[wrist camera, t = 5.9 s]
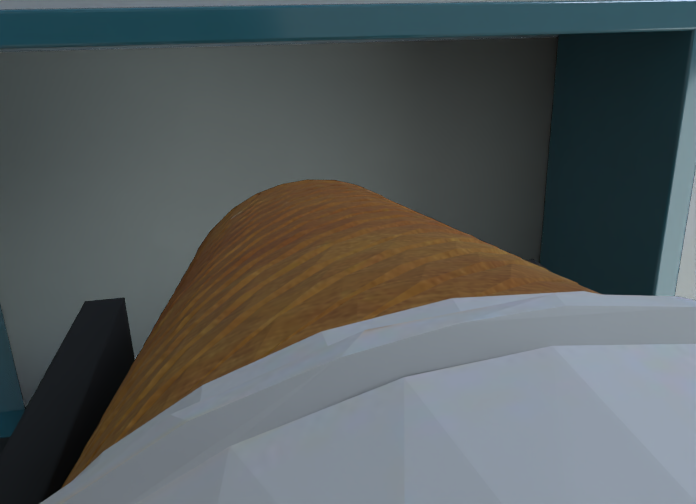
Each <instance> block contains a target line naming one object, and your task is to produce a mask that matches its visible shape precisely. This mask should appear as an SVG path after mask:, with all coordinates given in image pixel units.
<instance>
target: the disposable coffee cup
mask: <svg viewBox="0 0 696 504" xmlns="http://www.w3.org/2000/svg"><path fill="white" fill-rule="evenodd" d="M40 504H696V300H693V299H688V298H683V297H679V296H642V295H603V294H600V293H598V292H595V291H593V290H590V289H588V288H586V287H583V286H581V285H579V284H578V283H577V282H574V281H572V280H569V279H567V278H564V277H562V276H559V275H557V274H554V273H552V272H549V271H548V270H547V269H545V268H543V267H540V266H538V265H535V264H533V263H530V262H528V261H526V260H523V259H522V258H521V257H518V256H516V255H513V254H511V253H508V252H506V251H503V250H501V249H499V248H498V247H496V246H493V245H491V244H488V243H486V242H483V241H481V240H478V239H477V238H475V237H474V236H472V235H469V234H466V233H464V232H461V231H459V230H456V229H454V228H452V227H449V226H448V225H445V224H443V223H441V222H438V221H436V220H434V219H432V218H430V217H427V216H425V215H423V214H420V213H418V212H416V211H413V210H411V209H409V208H407V207H405V206H402V205H400V204H398V203H395V202H393V201H391V200H389V199H386V198H385V197H383V196H382V195H379V194H377V193H374V192H372V191H370V190H367V189H365V188H363V187H360V186H358V185H355V184H350V183H345V182H341V181H336V180H303V181H297V182H291V183H286V184H281V185H278V186H275V187H273V188H270V189H268V190H265V191H263V192H260V193H257V194H255V195H254V196H252V197H250V198H249V199H247V200H246V201H244V202H242V203H241V204H239V205H238V206H236V207H234V208H233V209H232V210H231V211H230V212H229V213H228V214H227V215H226V216H225V217H224V218H223V219H222V220H221V221H220V222H219V223H218V224H217V225H216V226H215V227H214V228H213V229H212V230H211V231H210V232H209V234H208V235H207V237H206V238H205V240H204V241H203V242H202V244H201V245H200V247H199V248H198V250H197V253H196V255H195V257H194V259H193V260H192V262H191V264H190V266H189V268H188V269H187V271H186V273H185V274H184V276H183V278H182V279H181V282H180V283H179V285H178V286H177V288H176V290H175V292H174V294H173V295H172V297H171V299H170V300H169V302H168V304H167V306H166V307H165V309H164V310H163V312H162V313H161V315H160V317H159V319H158V321H157V323H156V324H155V326H154V328H153V330H152V332H151V334H150V335H149V337H148V339H147V340H146V342H145V344H144V346H143V348H142V350H141V351H140V353H139V354H138V356H137V358H136V359H135V361H134V363H133V364H132V366H131V368H130V370H129V372H128V374H127V375H126V377H125V379H124V380H123V382H122V384H121V386H120V387H119V389H118V391H117V392H116V394H115V396H114V397H113V399H112V401H111V403H110V404H109V406H108V408H107V409H106V411H105V413H104V414H103V416H102V418H101V421H100V423H99V425H98V426H97V428H96V430H95V431H94V433H93V435H92V436H91V438H90V439H89V441H88V443H87V444H86V446H85V448H84V450H83V452H82V454H81V456H80V458H79V460H78V461H77V463H76V464H75V466H74V468H73V469H72V471H71V473H70V474H69V476H68V478H67V479H66V481H65V483H64V484H63V486H62V488H61V489H60V490H59V491H57V492H56V493H54V494H53V495H51V496H50V497H48V498H47V499H45V500H44V501H43V502H41V503H40Z"/></svg>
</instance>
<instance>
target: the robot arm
mask: <svg viewBox="0 0 696 504" xmlns="http://www.w3.org/2000/svg"><path fill="white" fill-rule="evenodd" d="M526 261H528V262H530V263H533V264H535V265H538V266H540V267H543V268H545V267H544V266H543V265H541V264H540V263H538V262H537V261H536V260H534V259H529V260H526ZM545 269H547V268H545ZM547 270H548V269H547ZM548 271H549V272H551V271H550V270H548ZM134 361H135V359H134V353H133V347H132V341H131V335H130V329H129V323H128V317H127V311H126V305H125V298H116V299H105V300H95V301H85V302H84V304H83V306H82V308H81V310H80V312H79V313H78V315H77V317H76V319H75V321H74V322H73V324H72V326H71V328H70V330H69V331H68V333H67V335H66V337H65V339H64V341H63V342H62V344H61V346H60V348H59V350H58V351H57V353H56V355H55V357H54V359H53V360H52V362H51V364H50V366H49V368H48V370H47V371H46V373H45V375H44V377H43V379H42V380H41V382H40V384H39V386H38V388H37V390H36V391H35V393H34V395H33V397H32V399H31V400H30V402H29V404H28V406H27V408H26V409H25V411H24V413H23V415H22V417H21V419H20V420H19V422H18V424H17V426H16V428H15V429H14V431H13V433H12V435H11V437H4V438H0V504H40V503H41V502H43V501H44V500H45V499H47V498H48V497H50V496H51V495H53V494H54V493H56V492H57V491H59V490H60V489H61V488H62V486H63V484H64V483H65V481H66V479H67V478H68V476H69V474H70V473H71V471H72V469H73V468H74V466H75V464H76V463H77V461H78V460H79V458H80V456H81V454H82V452H83V450H84V448H85V446H86V444H87V443H88V441H89V439H90V438H91V436H92V435H93V433H94V431H95V430H96V428H97V426H98V425H99V423H100V421H101V418H102V416H103V414H104V413H105V411H106V409H107V408H108V406H109V404H110V403H111V401H112V399H113V397H114V396H115V394H116V392H117V391H118V389H119V387H120V386H121V384H122V382H123V380H124V379H125V377H126V375H127V374H128V372H129V370H130V368H131V366H132V364H133V363H134Z"/></svg>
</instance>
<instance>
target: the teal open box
mask: <svg viewBox="0 0 696 504" xmlns="http://www.w3.org/2000/svg"><path fill="white" fill-rule="evenodd" d="M547 37H558V48H557V60H556V72H555V84H554V96H553V108H552V120H551V132H550V144H549V156H548V169H547V181H546V193H545V205H544V217H543V229H542V241H541V253H540V264H541V265H543V266H544V267H545V268H547V269H548V270H550V271H551V272H552V273H554V274H557V275H559V276H562V277H564V278H567V279H569V280H572V281H574V282H577V283H578V284H579V285H581V286H583V287H586V288H588V289H590V290H593V291H595V292H598V293H600V294H603V295H642V296H675V291H676V285H677V279H678V273H679V267H680V261H681V255H682V249H683V243H684V236H685V230H686V224H687V218H688V212H689V206H690V200H691V194H692V188H693V182H694V175H695V169H696V0H577V1H514V2H450V3H387V4H323V5H260V6H196V7H133V8H69V9H5V10H0V52H25V51H62V50H99V49H137V48H174V47H211V46H249V45H286V44H323V43H361V42H398V41H435V40H473V39H510V38H547ZM24 411H25V407H24V403H23V399H22V394H21V390H20V386H19V382H18V377H17V373H16V369H15V365H14V360H13V356H12V352H11V348H10V344H9V339H8V335H7V331H6V327H5V322H4V318H3V314H2V310H1V305H0V438H4V437H11V435H12V433H13V431H14V429H15V428H16V426H17V424H18V422H19V420H20V419H21V417H22V415H23V413H24Z"/></svg>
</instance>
